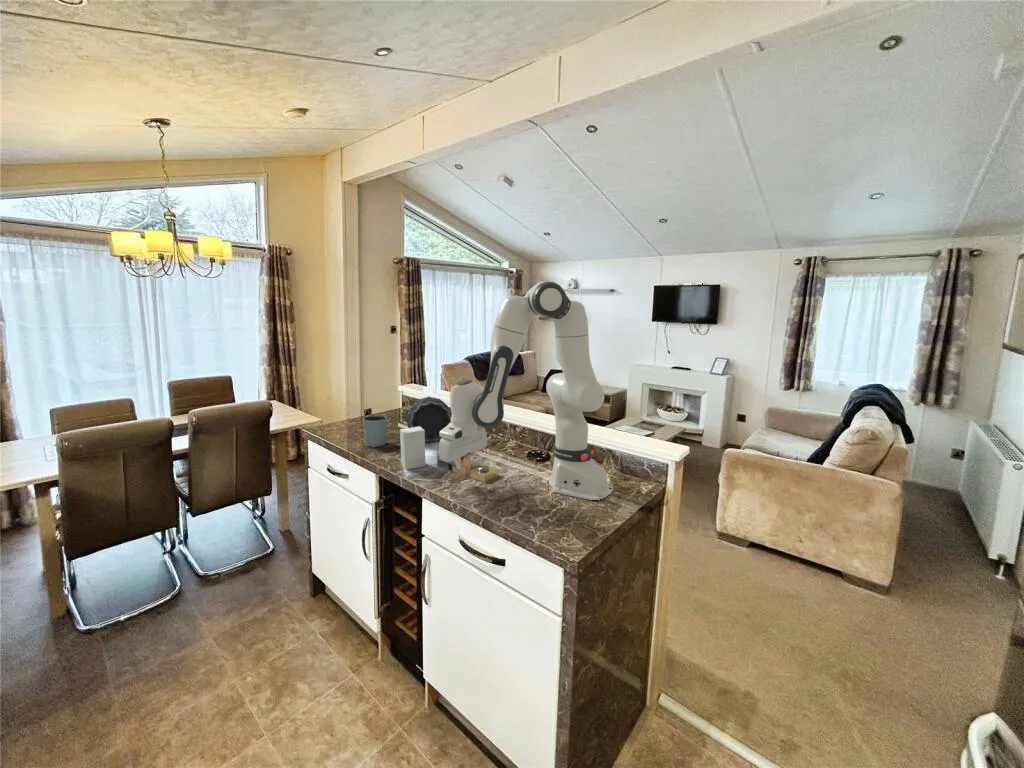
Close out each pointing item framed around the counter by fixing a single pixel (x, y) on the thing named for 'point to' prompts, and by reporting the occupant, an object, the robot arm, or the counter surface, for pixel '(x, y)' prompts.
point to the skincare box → (412, 447)
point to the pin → (465, 466)
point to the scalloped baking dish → (429, 417)
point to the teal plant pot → (375, 430)
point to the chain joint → (472, 468)
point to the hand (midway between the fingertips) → (465, 466)
